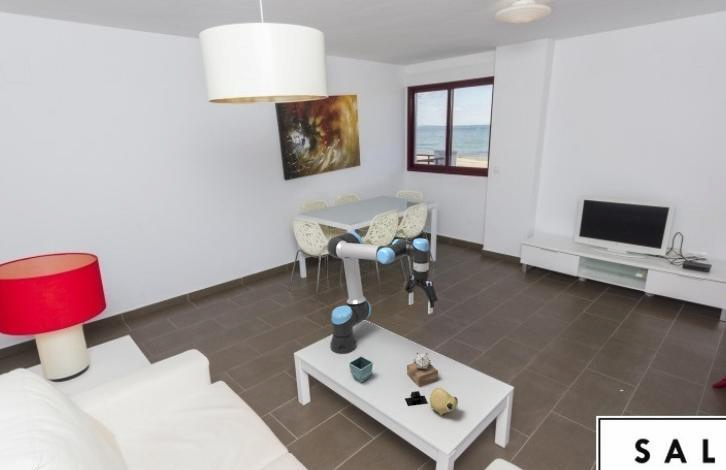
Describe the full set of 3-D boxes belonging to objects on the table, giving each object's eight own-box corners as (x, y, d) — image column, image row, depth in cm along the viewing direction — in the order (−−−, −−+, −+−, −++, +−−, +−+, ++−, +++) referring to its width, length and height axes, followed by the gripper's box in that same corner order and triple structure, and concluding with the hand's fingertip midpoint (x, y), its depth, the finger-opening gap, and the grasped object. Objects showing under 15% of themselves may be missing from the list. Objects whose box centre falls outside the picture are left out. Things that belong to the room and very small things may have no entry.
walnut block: (407, 375, 193) (407, 365, 192) (425, 369, 198) (425, 359, 196) (419, 387, 184) (419, 377, 182) (437, 381, 188) (438, 370, 187)
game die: (424, 373, 191) (434, 356, 191) (424, 377, 183) (435, 359, 183) (409, 362, 193) (419, 345, 193) (408, 366, 184) (419, 349, 184)
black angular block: (404, 409, 170) (404, 400, 169) (400, 398, 177) (400, 390, 176) (431, 405, 172) (431, 396, 171) (426, 394, 179) (426, 386, 178)
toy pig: (449, 424, 160) (450, 402, 157) (425, 411, 168) (425, 390, 165) (460, 411, 167) (461, 390, 164) (437, 399, 175) (437, 379, 172)
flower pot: (361, 370, 198) (361, 355, 196) (373, 377, 192) (373, 362, 189) (349, 378, 192) (348, 362, 190) (361, 386, 186) (360, 370, 184)
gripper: (398, 265, 196) (398, 302, 202) (434, 278, 177) (434, 319, 183) (408, 261, 201) (408, 298, 206) (445, 274, 182) (444, 314, 187)
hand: (420, 308), depth 195 cm, fingers open, 13 cm apart
